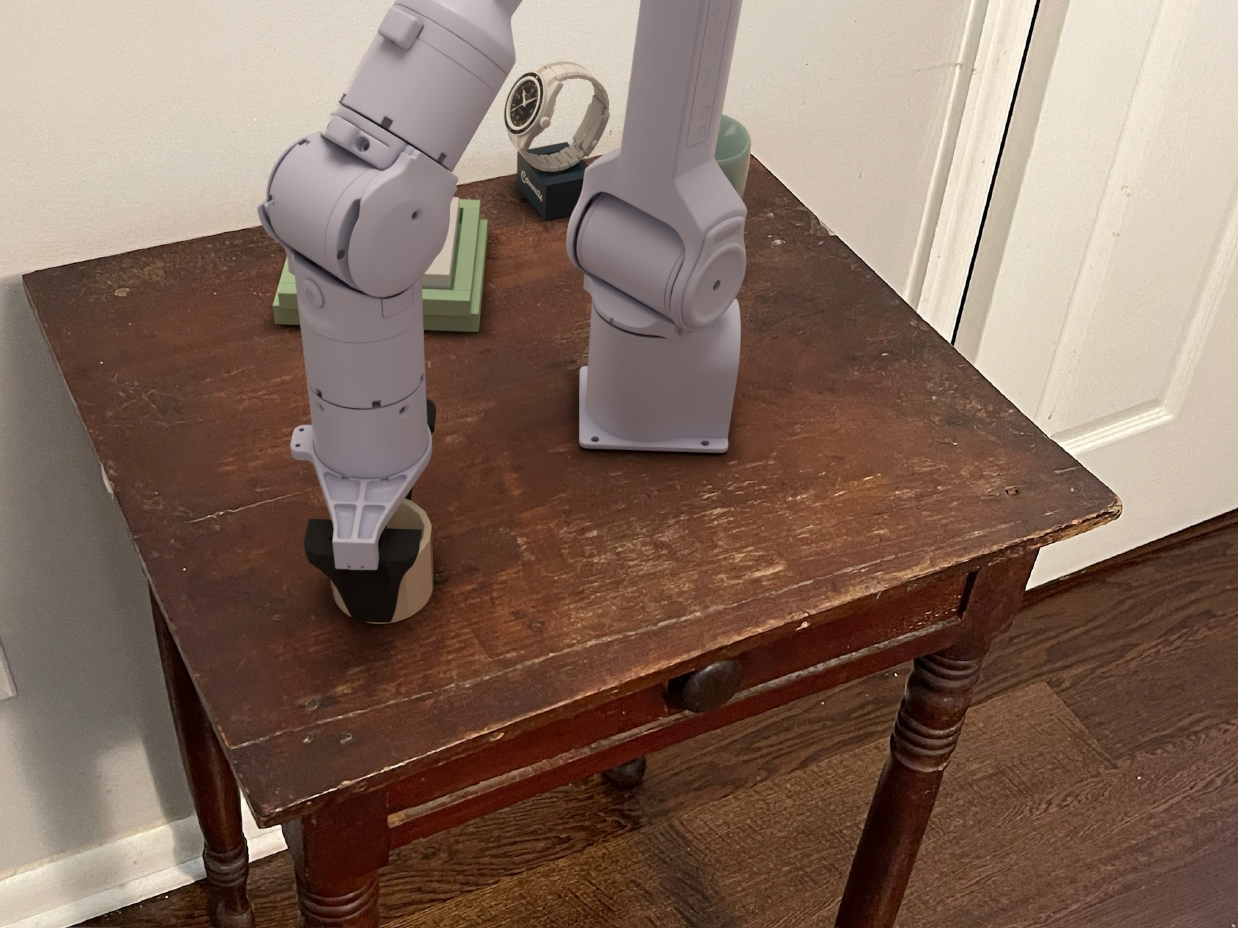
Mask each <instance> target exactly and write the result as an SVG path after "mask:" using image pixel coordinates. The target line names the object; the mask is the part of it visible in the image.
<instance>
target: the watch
mask: <svg viewBox="0 0 1238 928" xmlns="http://www.w3.org/2000/svg"><path fill="white" fill-rule="evenodd" d="M576 79H580V80H584V81H588V82H590V83H591V84H592V87H593V95H592V97H591V102H590V103H588V106H587V109H586V111H585V114H584V116H583V118H582V121H581V123H580V124H579V126H578V128H577V130H576V131H575V133H574V134H573V136H572V140H573V141H572V142H571V143H570V144H569V143H568V142H567V141H564V142H559V143H553V144H548V145H543V146H537V147H533V148H532V147H531V145H532V143H533V141H534V139H535V138H537V137H538V136H540V134H542V133H543V132H544V131H545V129H548V128H549V127H550V126H551V124H552V121H551V120H552V118H553V115H554V112H555V106H556V102H557V100H556V99H557V97H558V96H559V93H561V91H562V90H563V86H564V83H563V82H564V81H567V80H576ZM610 116H611V114H610V98H609V94H608V92H607V90H606V89H605V87H604V85H603V84H602V83H601V82H600V81H599V80H598V79H597V78H596V77H595V76H594V75H593V74H592V73H591V72H590V71H589V70H588V69H587V68H585V67H584V66H583V65H582V64H579V63H575V62H572V61H562V60H561V61H555V62H550V63H546V64H541V65H539V66H538V67H536V68H535V69H534V70H530V71H527V72H524V73H523V74H521V75H520V76H519V77H518V78H517V79H516V80H515V82H514V83H513V84H512V86H511V88H510V90H509V92H508V94H507V97H506V100H505V104H504V109H503V121H504V126H505V128H506V132H507V136H508V138H509V140H510V142H511V143H512V145H513V147H514V148H515V149H516V150H517V152H516V153H517V154H516V187H517V188H518V189H519V191H520V192H521V193H522V195H524V197H525V198H526V199H527V201H529V203H530V204H531V205H532V207H533V208H534V209H535V211H537V213H538V214H539V216H541V218H542V219H543V220H544V221H546V222H547V221H552V220H555V219H556V220H557V219H560V218H564V217H571V215H572V213H573V210H574V208H575V206H576V205H577V203H578V200H579V198H580V195H581V192H582V188H583V182H584V173H585V169H586V168H587V167H588V166H589V165H588V163H587V162H586V161H585V160H584V158H585V157H586V158H587V157H588V158H589V156H590V155H591V154H592V152H593V151H594V150H595V148H596V147H597V145H598V144H599V142H600V140H601V138H602V136H603V134H604V132H605V130H606V128H607V126H608V122H609V119H610ZM530 147H531V148H530Z"/></svg>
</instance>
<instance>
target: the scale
mask: <svg viewBox="0 0 1238 928" xmlns="http://www.w3.org/2000/svg"><path fill="white" fill-rule="evenodd" d="M459 199H460V218H459V226H458V234H457V242H456V250H455V258H454V266H453V274H452V282H451V290H438V289H422V300H423V330H424V331H436V332H437V331H438V332H439V331H440V332H441V331H442V332H466V333H467V332H468V333H479V332H480V323H481V315H482V302H483V292H484V281H485V271H486V261H487V259H486V258H487V249H488V248H487V247H488V238H489V220H488V219H485V218H484V219H483V218H482V219H481V213H482V211H481V210H482V209H481V208H482V203H481V200H480V199H467V198H465V199H464V198H459ZM272 311H273V319H274V324H275V325H284V326H285V325H287V326H300V318H299V310H298V301H297V292H296V283H295V275H293V274H291V273H290V272H289V268H288V260H287V257H286V258H285V261H284V265H283V269H282V272H281V276H280V279H279V283H278V286H277V289H276V293H275V296H274V300H273V303H272Z"/></svg>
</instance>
